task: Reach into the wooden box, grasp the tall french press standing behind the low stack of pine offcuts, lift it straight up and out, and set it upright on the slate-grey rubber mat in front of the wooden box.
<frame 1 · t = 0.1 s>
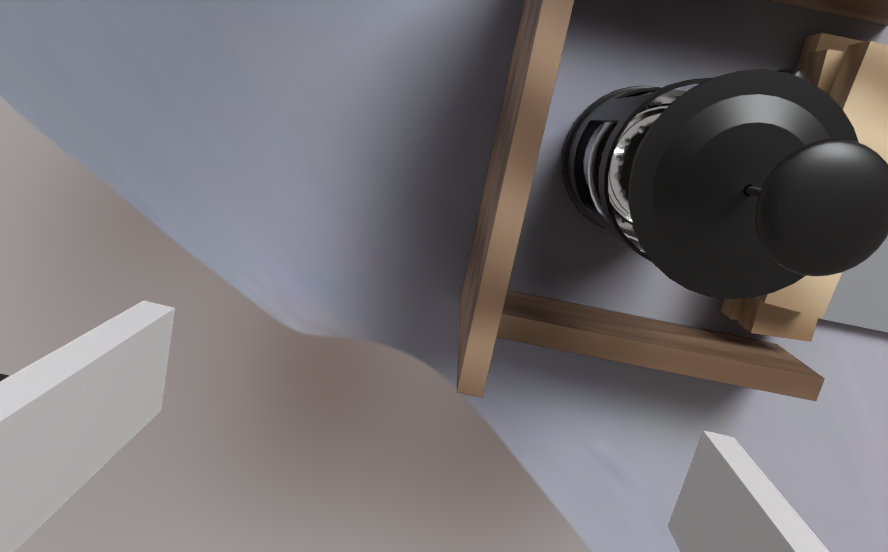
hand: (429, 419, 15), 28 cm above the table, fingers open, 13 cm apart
wooden box: (663, 160, 41), on the table
french press: (640, 155, 41), on the table
offcut stack: (789, 186, 42), on the table
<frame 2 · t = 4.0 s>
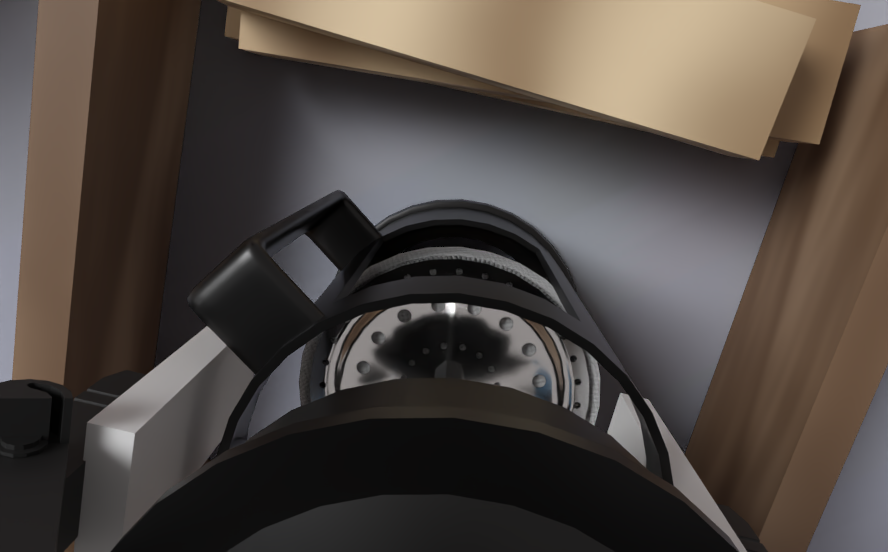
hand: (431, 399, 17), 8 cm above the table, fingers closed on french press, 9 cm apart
wooden box: (453, 275, 24), on the table
french press: (444, 311, 24), on the table, touching gripper
offcut stack: (511, 39, 22), on the table
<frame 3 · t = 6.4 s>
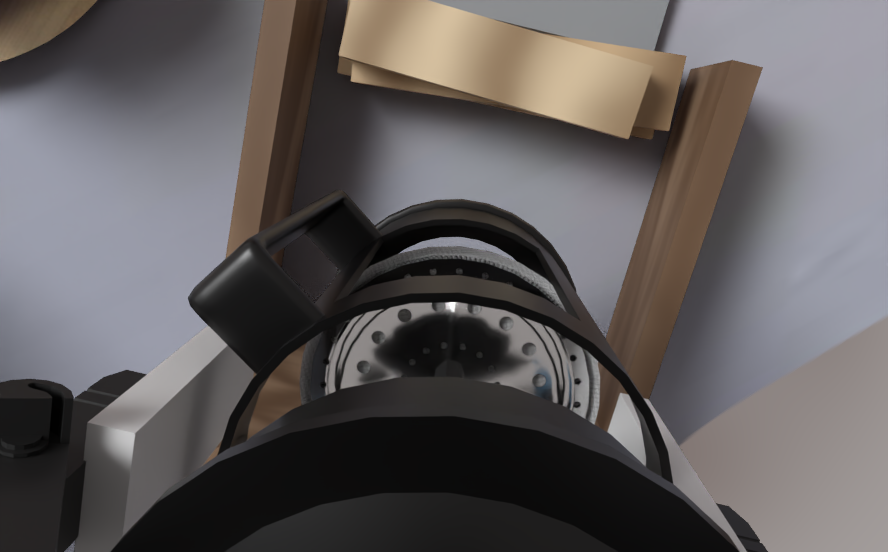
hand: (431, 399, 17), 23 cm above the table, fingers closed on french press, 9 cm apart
wooden box: (465, 213, 39), on the table
french press: (444, 311, 24), point 15 cm above the table, touching gripper
offcut stack: (501, 71, 37), on the table
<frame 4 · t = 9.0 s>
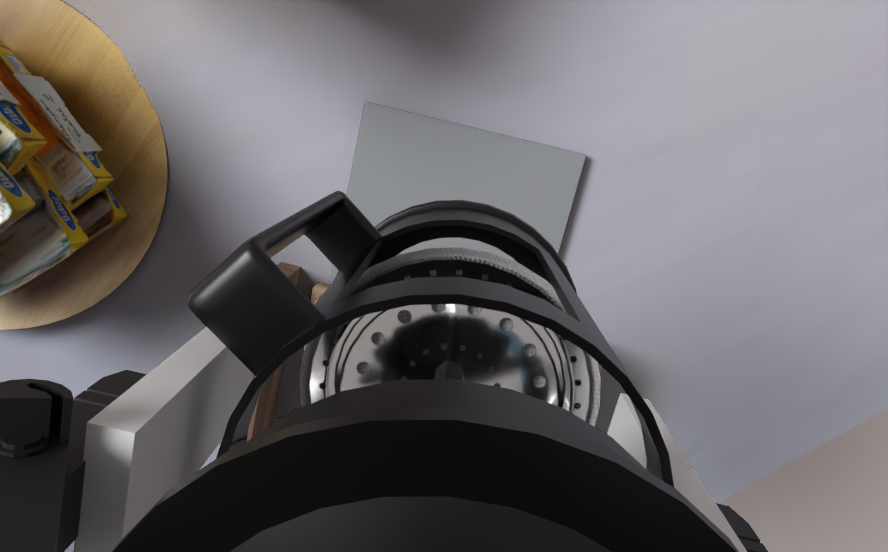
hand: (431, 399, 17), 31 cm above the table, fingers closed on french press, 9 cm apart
wooden box: (404, 425, 51), on the table
french press: (444, 312, 24), point 24 cm above the table, touching gripper
stacked boxes on plate: (5, 157, 47), on the table
slate mat: (454, 216, 47), on the table
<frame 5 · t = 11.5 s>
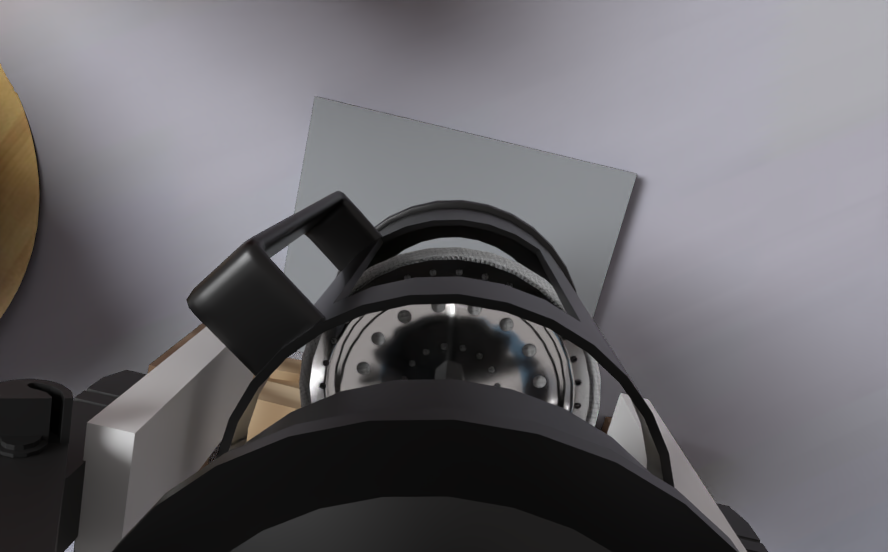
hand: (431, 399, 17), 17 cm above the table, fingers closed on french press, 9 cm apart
wooden box: (378, 543, 37), on the table
french press: (444, 312, 24), point 9 cm above the table, touching gripper
offcut stack: (411, 412, 35), on the table
slate mat: (446, 259, 33), on the table
when the fingers open (10 cm above the table, at t = 13.9 s): french press moves 2 cm, point 1 cm above the table.
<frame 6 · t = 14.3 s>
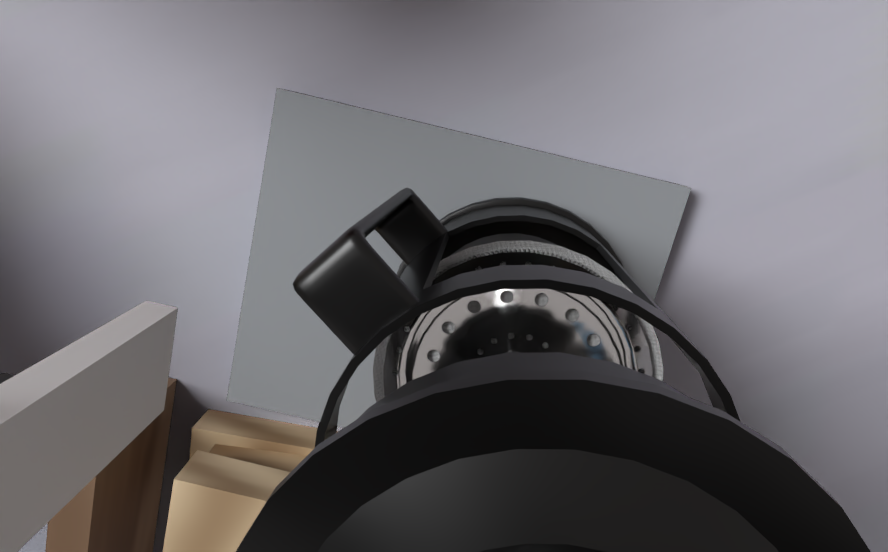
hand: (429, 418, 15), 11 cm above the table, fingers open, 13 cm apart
french press: (501, 306, 25), point 1 cm above the table, touching gripper
offcut stack: (404, 480, 29), on the table
slate mat: (446, 294, 26), on the table
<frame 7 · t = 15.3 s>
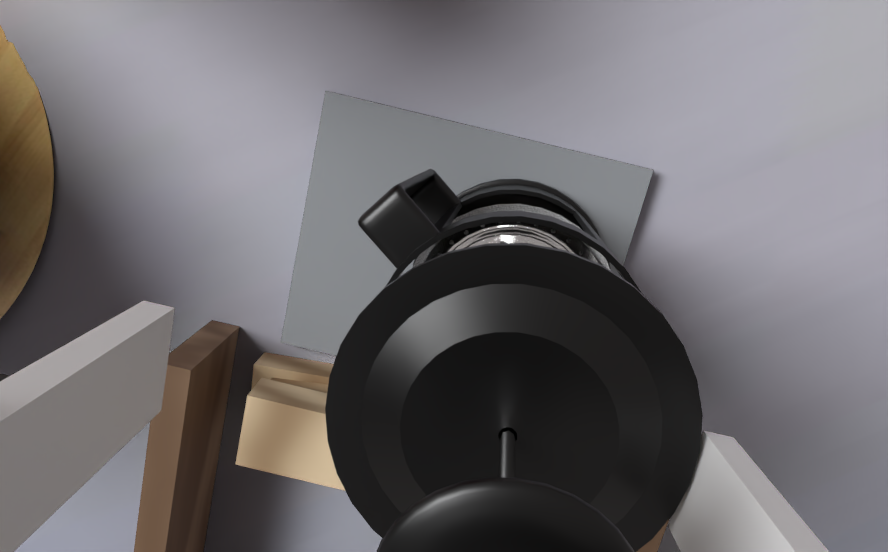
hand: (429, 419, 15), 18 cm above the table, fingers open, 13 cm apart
wooden box: (388, 543, 37), on the table
french press: (503, 265, 32), point 1 cm above the table, touching slate mat
offcut stack: (423, 411, 35), on the table
slate mat: (458, 257, 33), on the table
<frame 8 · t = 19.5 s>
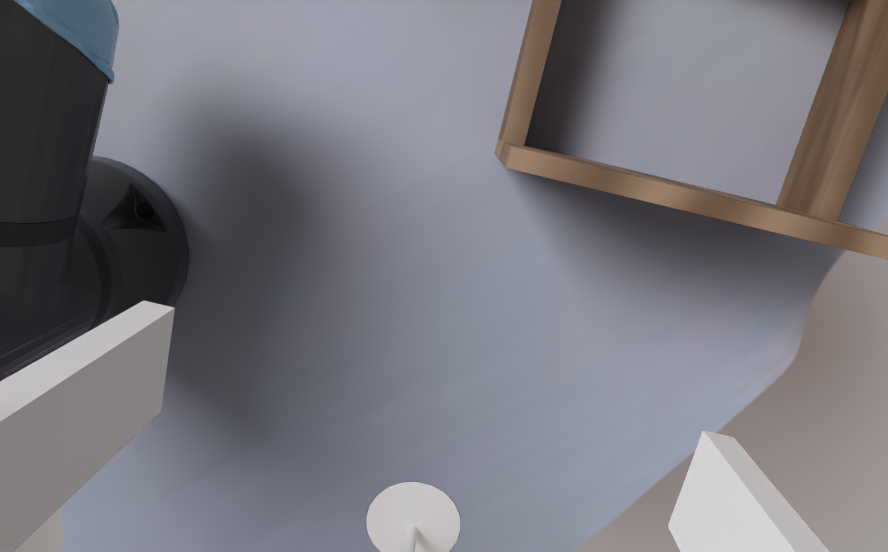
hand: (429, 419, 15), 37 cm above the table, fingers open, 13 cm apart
wineglass: (413, 522, 58), on the table
wooden box: (687, 45, 47), on the table
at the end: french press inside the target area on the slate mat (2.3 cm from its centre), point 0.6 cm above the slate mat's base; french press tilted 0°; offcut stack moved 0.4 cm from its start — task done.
